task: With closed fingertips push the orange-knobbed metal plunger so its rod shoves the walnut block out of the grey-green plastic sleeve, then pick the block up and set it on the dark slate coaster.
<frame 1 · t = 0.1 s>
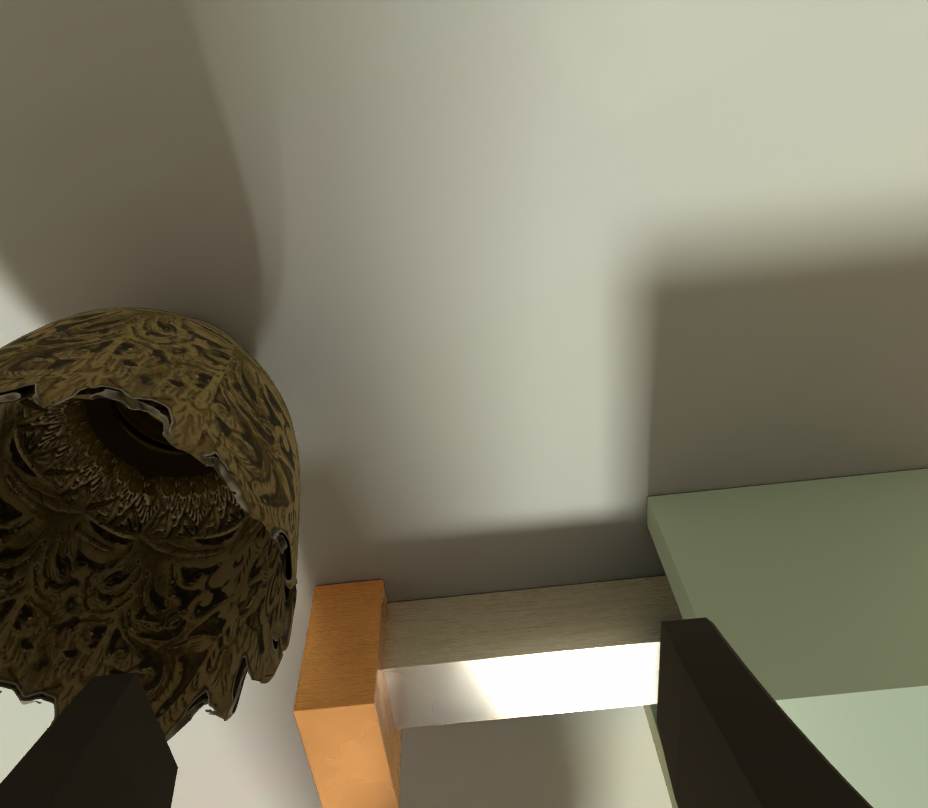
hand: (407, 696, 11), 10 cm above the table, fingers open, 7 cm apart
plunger: (566, 673, 22), point 2 cm above the table, slide at 0.0 cm
sleeve: (775, 595, 24), on the table
cup: (191, 369, 20), on the table
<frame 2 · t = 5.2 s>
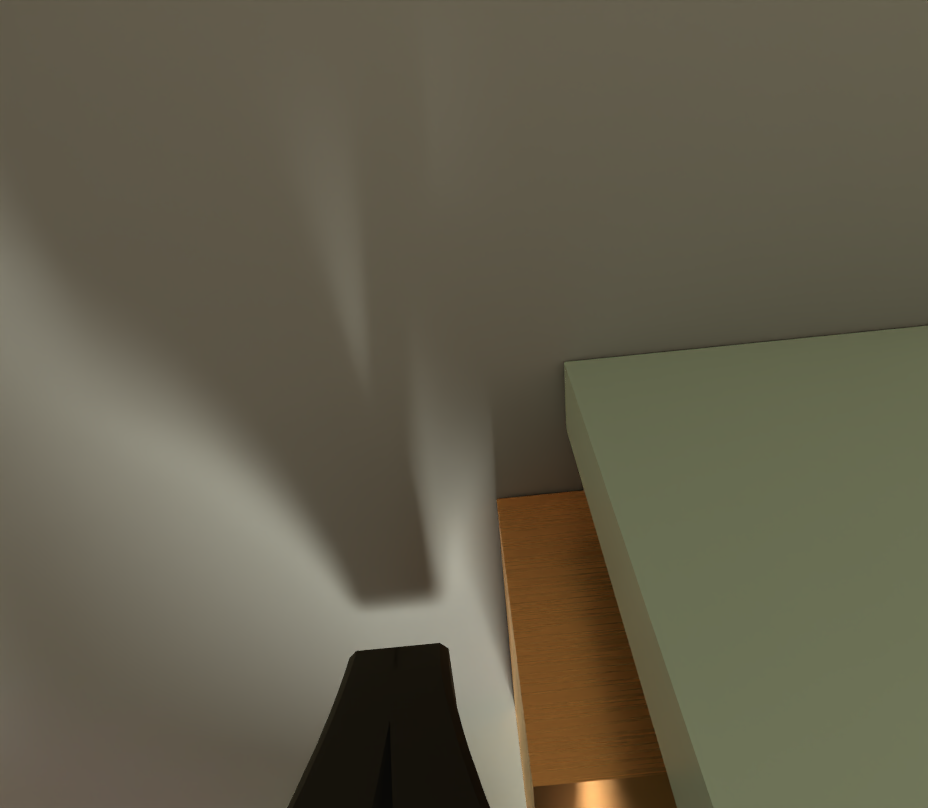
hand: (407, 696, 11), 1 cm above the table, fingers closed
sleeve: (830, 581, 12), on the table
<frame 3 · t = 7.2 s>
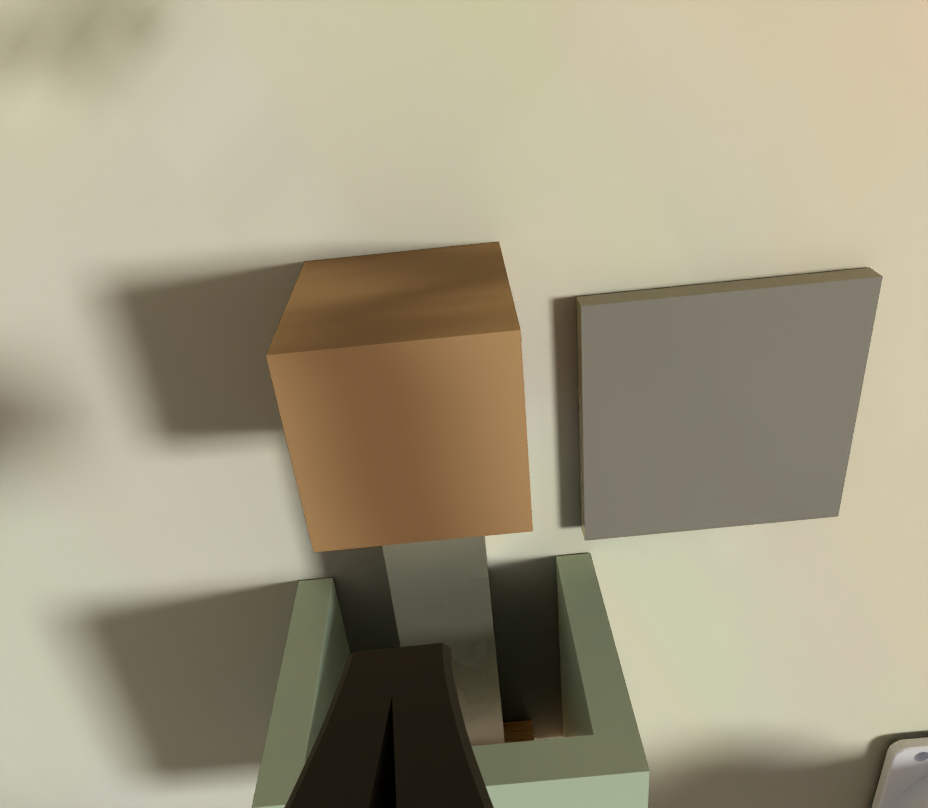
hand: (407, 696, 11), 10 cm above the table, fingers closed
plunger: (452, 674, 22), point 2 cm above the table, slide at 8.8 cm
slate coaster: (712, 408, 20), on the table
sleeve: (457, 663, 25), on the table
walnut block: (413, 338, 19), on the table
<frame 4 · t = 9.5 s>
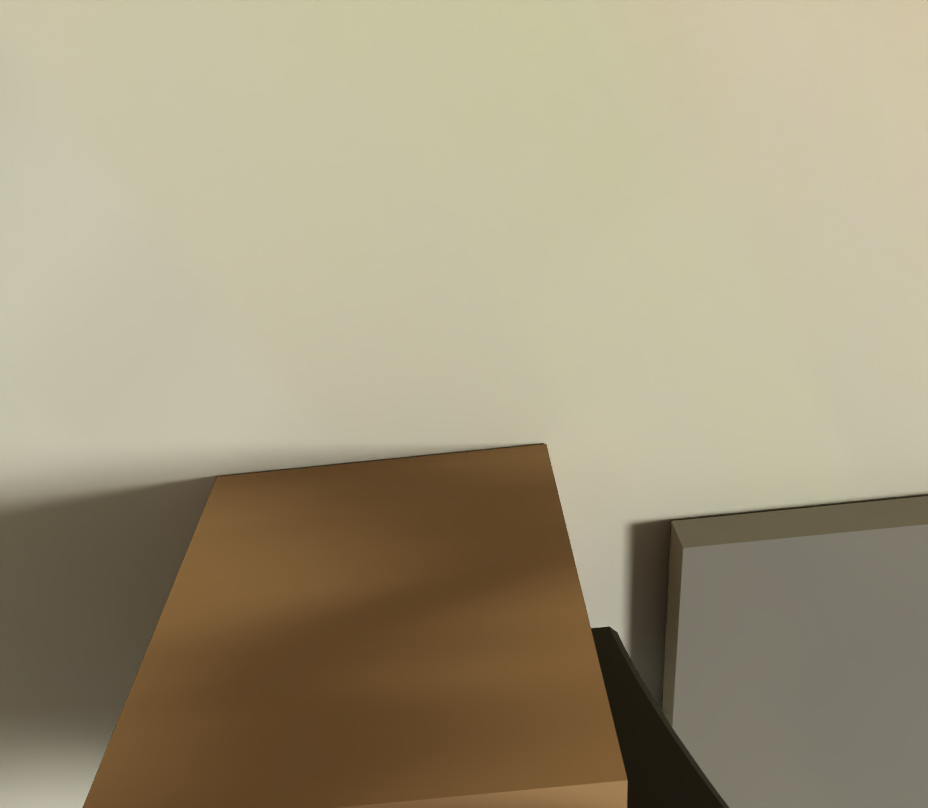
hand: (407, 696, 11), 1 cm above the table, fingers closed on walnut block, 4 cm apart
slate coaster: (873, 666, 13), on the table
walnut block: (402, 584, 12), on the table, touching gripper
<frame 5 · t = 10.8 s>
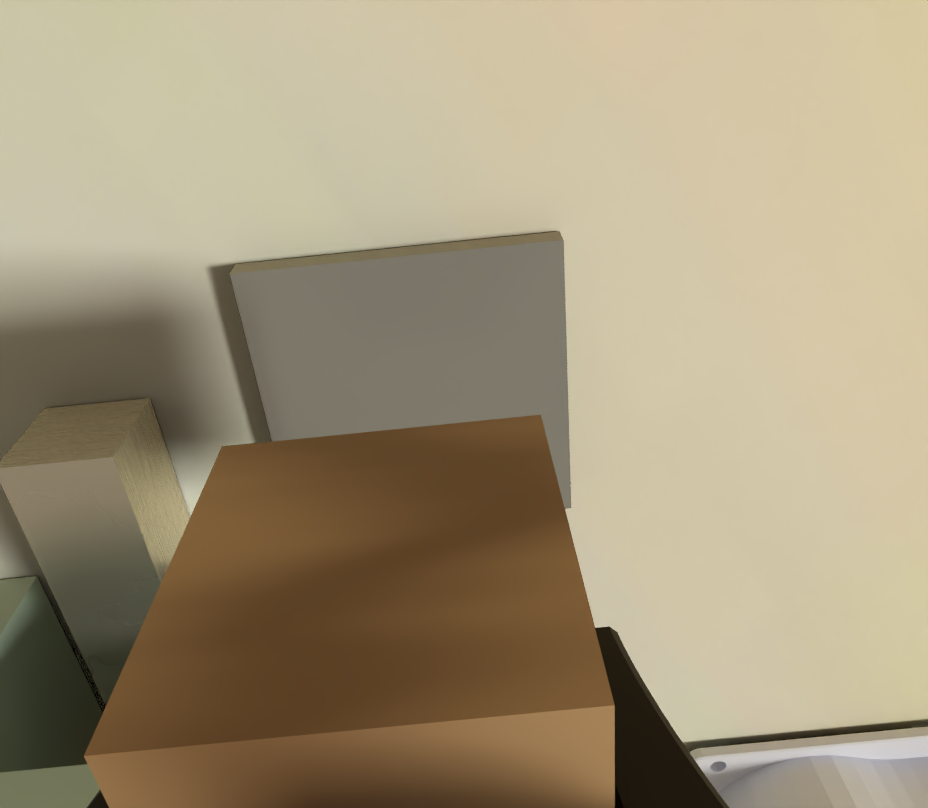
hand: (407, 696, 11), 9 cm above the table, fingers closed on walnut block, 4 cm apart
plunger: (154, 682, 20), point 2 cm above the table, slide at 8.7 cm
slate coaster: (416, 389, 19), on the table
sleeve: (196, 668, 23), on the table
walnut block: (402, 555, 12), point 7 cm above the table, touching gripper
when the fingers open (3 cm above the table, at t = 12.4 s): walnut block stays where it is, resting on slate coaster.
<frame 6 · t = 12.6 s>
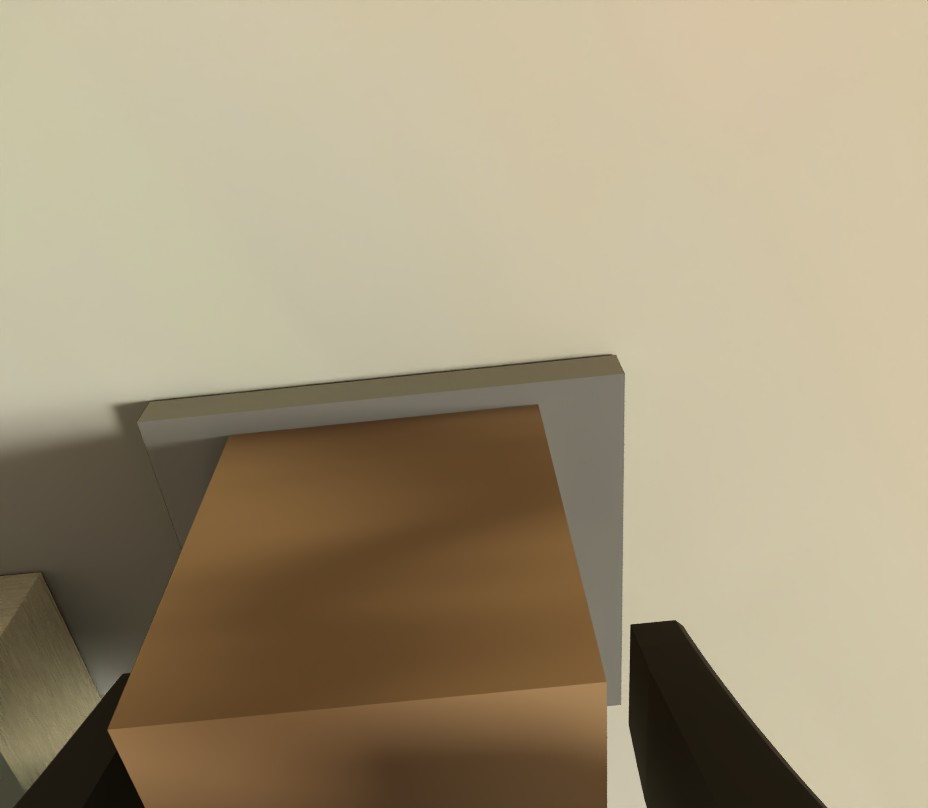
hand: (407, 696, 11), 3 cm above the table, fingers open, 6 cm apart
slate coaster: (411, 557, 13), on the table
walnut block: (403, 540, 12), point 1 cm above the table, touching slate coaster
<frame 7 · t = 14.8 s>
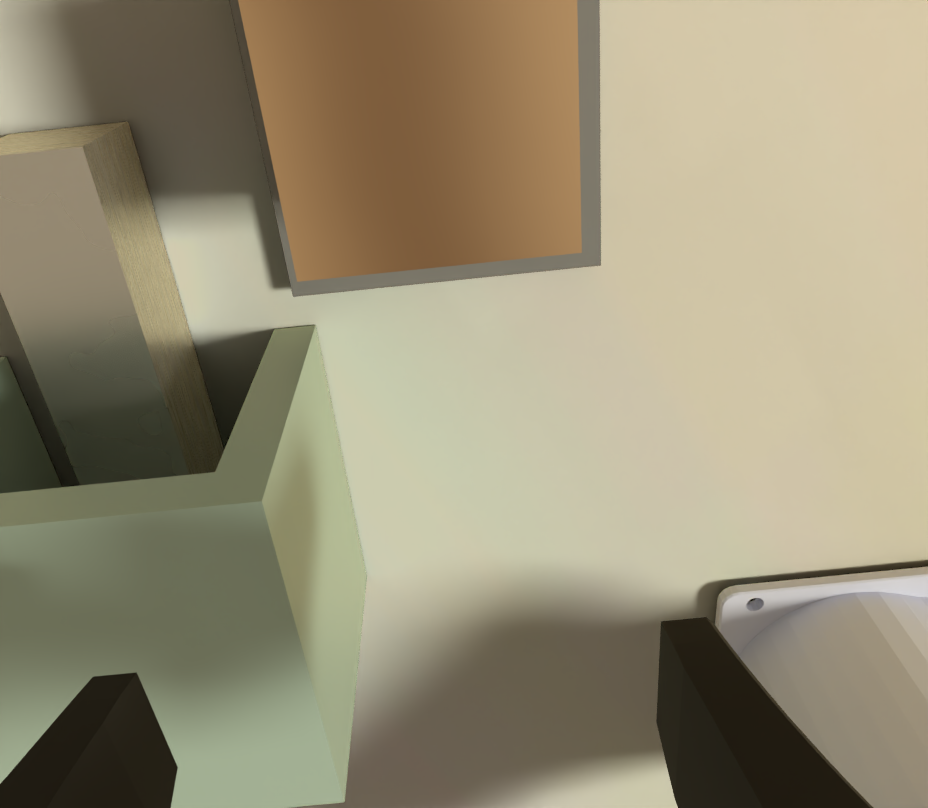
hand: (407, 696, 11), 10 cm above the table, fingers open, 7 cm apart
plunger: (135, 463, 18), point 2 cm above the table, slide at 8.7 cm
slate coaster: (428, 114, 17), on the table
sleeve: (184, 478, 21), on the table
walnut block: (423, 72, 16), point 1 cm above the table, touching slate coaster
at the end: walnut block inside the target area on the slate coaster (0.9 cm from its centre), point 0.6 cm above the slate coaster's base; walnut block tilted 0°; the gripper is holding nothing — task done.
